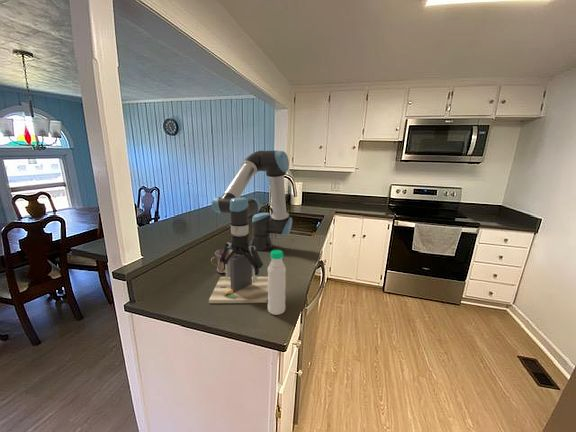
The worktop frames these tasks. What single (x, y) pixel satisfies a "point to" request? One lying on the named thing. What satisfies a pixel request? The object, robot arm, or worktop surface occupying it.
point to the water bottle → (276, 283)
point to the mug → (218, 256)
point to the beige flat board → (240, 292)
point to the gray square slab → (240, 273)
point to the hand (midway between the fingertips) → (241, 278)
